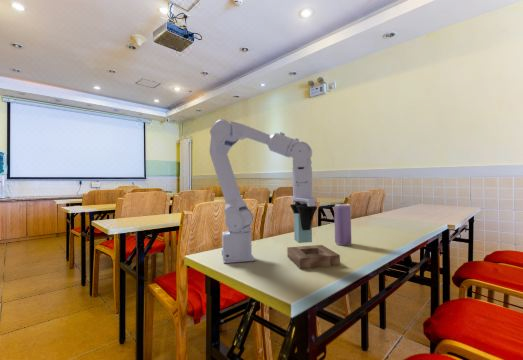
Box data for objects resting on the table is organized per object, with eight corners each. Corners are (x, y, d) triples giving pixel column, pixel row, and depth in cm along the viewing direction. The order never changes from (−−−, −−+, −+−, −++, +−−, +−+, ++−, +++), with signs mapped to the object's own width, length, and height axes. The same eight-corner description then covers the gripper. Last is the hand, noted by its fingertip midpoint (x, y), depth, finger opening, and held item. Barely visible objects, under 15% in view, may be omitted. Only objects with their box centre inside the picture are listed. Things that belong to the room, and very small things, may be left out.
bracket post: (298, 242, 74) (298, 215, 74) (294, 239, 78) (294, 213, 78) (311, 242, 74) (311, 214, 74) (307, 239, 78) (306, 212, 78)
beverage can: (348, 246, 93) (347, 205, 93) (332, 244, 97) (331, 204, 97) (353, 243, 98) (352, 204, 98) (338, 241, 102) (337, 203, 102)
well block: (300, 269, 71) (299, 258, 71) (287, 256, 83) (287, 247, 83) (339, 265, 73) (339, 255, 73) (322, 253, 85) (322, 244, 85)
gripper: (325, 182, 70) (326, 232, 70) (306, 182, 84) (307, 223, 84) (300, 183, 68) (301, 234, 68) (285, 182, 83) (286, 224, 83)
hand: (303, 228), depth 76 cm, fingers closed on bracket post, 4 cm apart
